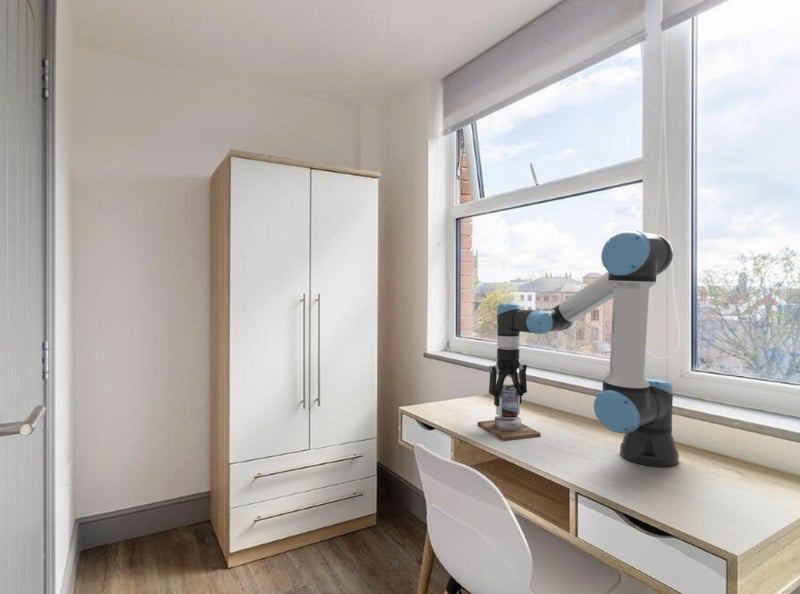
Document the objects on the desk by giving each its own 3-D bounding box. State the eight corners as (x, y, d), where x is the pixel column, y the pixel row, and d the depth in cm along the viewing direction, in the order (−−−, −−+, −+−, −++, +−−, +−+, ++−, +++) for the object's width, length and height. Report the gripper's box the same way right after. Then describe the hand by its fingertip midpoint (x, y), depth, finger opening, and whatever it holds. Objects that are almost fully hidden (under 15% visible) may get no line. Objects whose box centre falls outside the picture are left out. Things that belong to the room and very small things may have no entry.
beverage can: (505, 422, 159) (505, 386, 158) (494, 416, 166) (494, 382, 165) (521, 420, 161) (521, 385, 160) (510, 414, 168) (510, 381, 167)
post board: (540, 436, 157) (540, 424, 157) (503, 440, 153) (503, 427, 152) (512, 421, 174) (512, 410, 174) (477, 425, 170) (477, 413, 170)
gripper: (526, 345, 169) (525, 409, 170) (478, 347, 163) (477, 413, 164) (538, 348, 162) (538, 414, 162) (488, 350, 156) (488, 419, 157)
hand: (507, 414), depth 163 cm, fingers closed on beverage can, 6 cm apart
